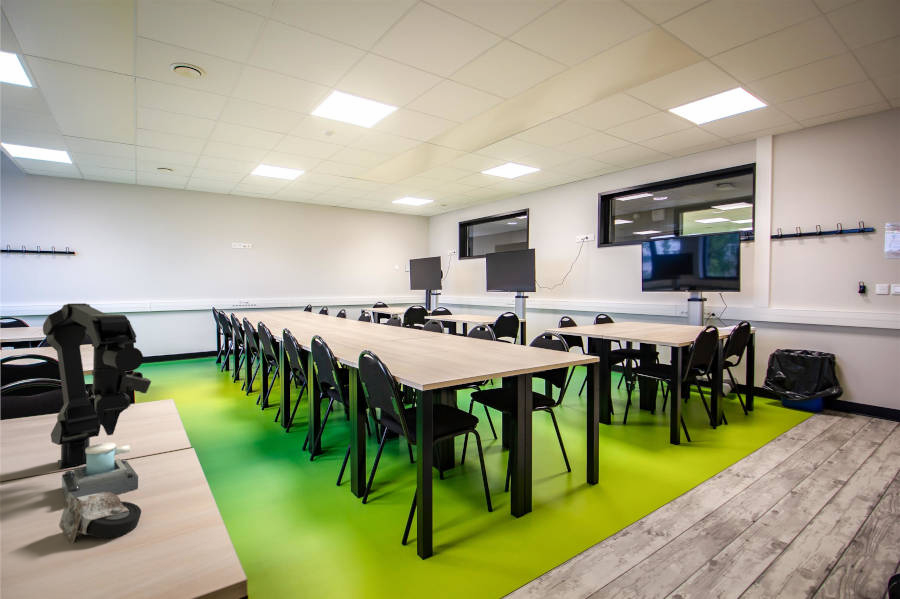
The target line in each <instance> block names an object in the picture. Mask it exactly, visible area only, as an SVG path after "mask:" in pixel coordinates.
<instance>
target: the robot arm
mask: <svg viewBox="0 0 900 599" xmlns="http://www.w3.org/2000/svg"><path fill="white" fill-rule="evenodd" d="M42 332H43V335H44V336H45V337H46V342H47V344H48V345H50V346H51V348H53V350H55V351H56V354H57V361H58V368H59V377H60V382H61V383H60V384H61V390H62V392H61V393H62V397H63V398H62V399H63V406H61V409H60V410H59V412H58V414H57V417H56V418H57V421H56V423H55V425H54V427H53V429H52V431H51V433H50V440H51V443H53V444H56V445H58V446H60V459H58V460H57V464H58V467H59V469H65V468H70V467H76V466H78V465H79V466H80V465H83V464H86V461H87V454H86V453H85V450H86V448H87V447H89V446H91V445H90V442H91V441H90V439H91V438H94V437H99V435H100V430H101V427H103V430H104V431H105V434H106V436H113V435H114V433H115V429H116V426H117V424H118V420H119V417H120V414H121V413H123V412H124V411H125V410H127V409H128V408H129V407H130V406H131V397H130V396H129V395H128V394H126V392H127V390H129V391H132V392H133V391H135V392H139V393H141V394H147V392H148V390H149V388H150V385H151V383H152V380H151V379H149V378H147V377H143V373H142V372H139V371H135V370H137V369H139V368H140V366H141V365H143V360H144V355H143V353H142V351H141V350H140V349H139V348H137V347H135V344H136V343H137V339H136V338H137V334H136V332H135V330H134V328H133V326H132V324H131V320H129V319H128V317H127V316H126V315H124V314H117V313H116V314H113V313H112V314H111V313H110V314H109V313H105V312H102V311H101V310H98V309H96V308H94V307H92V306H91V305H90V304H89V303H85V302H84V303H81V302H80V303H67V304H63V305H62V306H61V308H60V309H58V310H57V311H55V312H52V313H50V314H49V315H48V316H47V317H46V318H45V321H44V322H43V324H42ZM87 334H88V335H89V337H90V339H91V342H92V344H91V347H93V361H92V362H93V369H92V370H91V375H92V383H91V384H90V385H89V386H88V387H87V388H86V381H85V374H84V367H83V358H82V354H81V353H82V352H81V345H82V344H83V342H84V341H85V339H86V338H87ZM127 372H129V373H130V372H132V373H131V374H127Z"/></svg>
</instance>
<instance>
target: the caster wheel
mask: <svg viewBox="0 0 900 599" xmlns="http://www.w3.org/2000/svg"><path fill="white" fill-rule="evenodd" d="M65 500H66V499H65ZM141 514H142V509H141V507H140V506H138V505H137V504H135V503H133V502H129V501H122V500H121V499H120V498H119V496H118V494H116V495H115V494H113V493H109V492H102V493H96V494H91V495H87V496H82V497H77V498H75V497H74V496H73V495H72V494H71V493H70V492H69V494H68V497H67V500H66V501H65V505H64V508H63V511H62V514H61V518H60V520H59V524H58V527H59V528H60V529H61V531H62V532H63V533H64V534H65V536H66V537H67V539H68V540H69V541H70V542H71V543H72V544H74V543H75V539H76V536H77V533H78V532H79V533H81V534H82V535H86V536H87V535H88V536H89V535H90V536H93V537H95V538H97V537H98V538H105V539H107V538H117V537H121V536H124V535H126V534H129V533H131V532H132V531H133V530H135V529H136V528H137V526H138V524H139V521H140V518H141Z"/></svg>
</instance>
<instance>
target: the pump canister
mask: <svg viewBox="0 0 900 599" xmlns="http://www.w3.org/2000/svg"><path fill="white" fill-rule="evenodd" d="M116 445H117V444H116V443H115V442H101V443H95V444H93V445H92V444H91V445H90V446H89V447H87V448H86V450H85V453H86V454H87V461H86V463H85V466H86V477H87V476H91V475H95V474H100V473H104V472H108V471H113V470H114V460H115V455H120V454H126V453H129V452H131V451H130V450H131V449H130V448H131V447H130V445H129V444H127V445H122V446H117V447H116Z"/></svg>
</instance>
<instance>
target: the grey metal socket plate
mask: <svg viewBox="0 0 900 599" xmlns="http://www.w3.org/2000/svg"><path fill="white" fill-rule="evenodd" d="M61 488H62V492H63V495H64V498H65V500H67V497H68V494H69V492H70V493H71V494H72V495H73V496H74V497H75V498H77V497H82V496H87V495H91V494H96V493H102V492H109V493H113V494H115V495H119V494H123V493H127V492H130V491H135V490H138V489H139V475H138V474H137V473H136V471H135V470H134V469H133V466H131V465H130V463H129V462H128V460H126V459H124V458H123V459H121V458H117V459H114V470H113V471H108V472H104V473H100V474H95V475H91V476H87V477H86V465H85V466H79V467H75V468H73V470H68V471H65V472H64V473H63V474H61Z"/></svg>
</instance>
